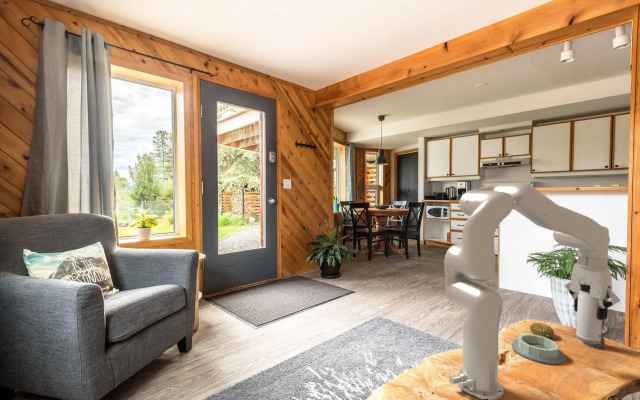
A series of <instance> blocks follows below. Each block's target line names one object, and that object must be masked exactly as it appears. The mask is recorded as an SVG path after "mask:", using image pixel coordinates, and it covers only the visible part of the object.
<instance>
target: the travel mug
mask: <svg viewBox="0 0 640 400" xmlns="http://www.w3.org/2000/svg"><path fill="white" fill-rule="evenodd" d="M580 287H581V288H580V293H579V294H578V308H577V312H576V335H575V337H576V338H577V339H578V340H579V341H581V342H582V343H583V342H586V343H590V344H600V343H601V332H602V330H603V328H602V320H598V319H597V312H598V307H600V305H599V303H598V299H595V298H592V297H590V291H589V290H590V289H591V288H590V285H585V284H583V285H582V284H580ZM601 329H602V330H601Z"/></svg>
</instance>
